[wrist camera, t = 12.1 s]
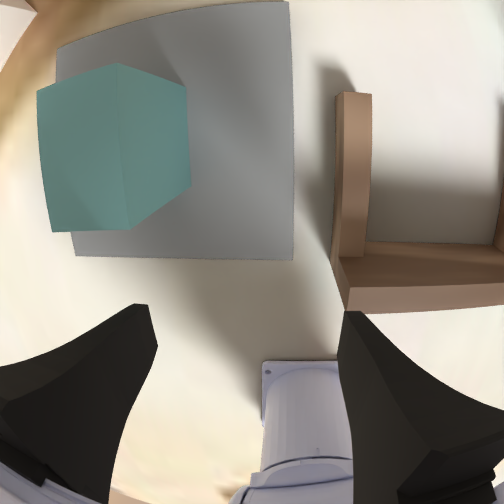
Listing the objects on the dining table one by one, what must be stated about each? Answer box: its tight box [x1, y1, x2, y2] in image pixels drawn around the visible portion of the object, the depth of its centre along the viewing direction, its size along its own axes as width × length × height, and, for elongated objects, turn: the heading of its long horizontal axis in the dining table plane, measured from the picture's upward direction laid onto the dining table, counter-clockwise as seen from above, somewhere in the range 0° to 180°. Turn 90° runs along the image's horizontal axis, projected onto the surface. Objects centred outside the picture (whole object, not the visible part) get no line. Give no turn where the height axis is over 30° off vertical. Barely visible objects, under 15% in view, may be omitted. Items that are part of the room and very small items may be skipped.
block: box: [37, 63, 191, 232], centre depth 13 cm, size 6×4×8 cm, turn 2°
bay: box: [330, 91, 504, 314], centre depth 14 cm, size 10×15×6 cm
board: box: [56, 2, 294, 260], centre depth 17 cm, size 16×16×1 cm
